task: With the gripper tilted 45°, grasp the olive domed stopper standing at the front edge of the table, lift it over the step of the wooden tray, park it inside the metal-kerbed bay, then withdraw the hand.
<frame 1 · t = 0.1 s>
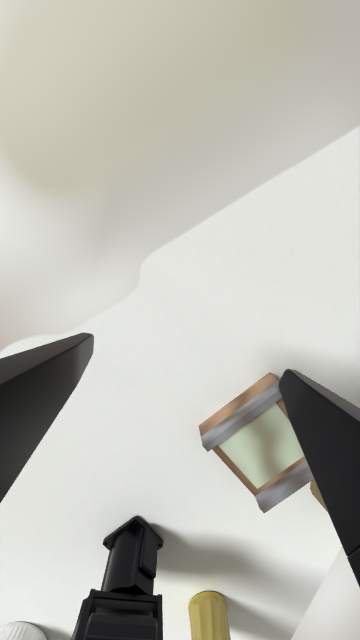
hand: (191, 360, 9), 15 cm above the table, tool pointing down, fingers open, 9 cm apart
wooden tray: (261, 432, 27), on the table
ramekin: (20, 638, 32), on the table
vase: (206, 602, 32), on the table
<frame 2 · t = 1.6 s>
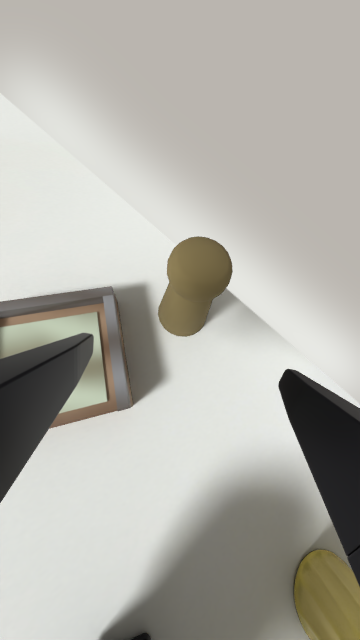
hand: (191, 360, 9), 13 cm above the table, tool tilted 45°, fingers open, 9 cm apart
wooden tray: (61, 361, 21), on the table
olive domed stopper: (182, 313, 25), on the table
vase: (323, 592, 17), on the table
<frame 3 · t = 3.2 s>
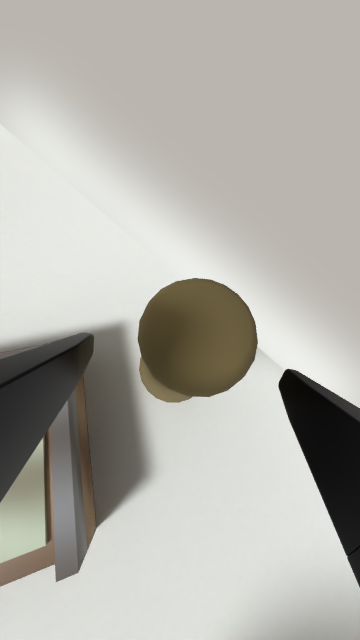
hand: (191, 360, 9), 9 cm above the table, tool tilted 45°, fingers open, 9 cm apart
olive domed stopper: (173, 366, 18), on the table
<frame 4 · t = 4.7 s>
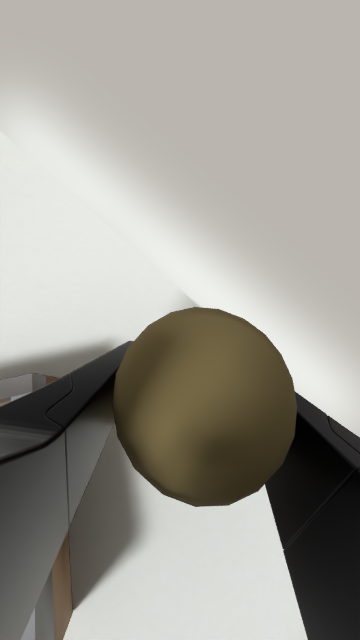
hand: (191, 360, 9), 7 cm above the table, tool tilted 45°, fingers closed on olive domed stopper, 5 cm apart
olive domed stopper: (171, 393, 15), on the table, touching gripper
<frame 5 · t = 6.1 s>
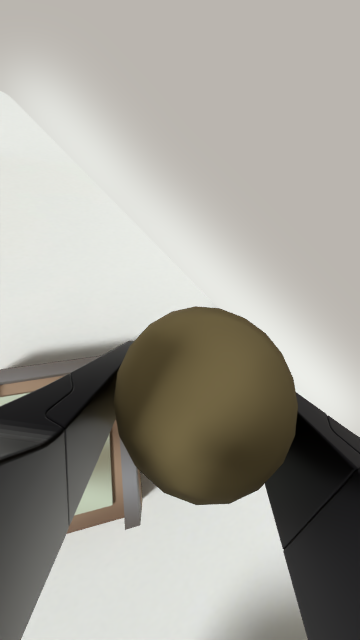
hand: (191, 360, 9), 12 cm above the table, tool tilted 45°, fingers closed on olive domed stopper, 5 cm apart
wooden tray: (61, 436, 17), on the table
olive domed stopper: (172, 392, 15), point 5 cm above the table, touching gripper
when the fingers open (10 cm above the table, at t = 7.8 s): olive domed stopper stays where it is, resting on wooden tray.
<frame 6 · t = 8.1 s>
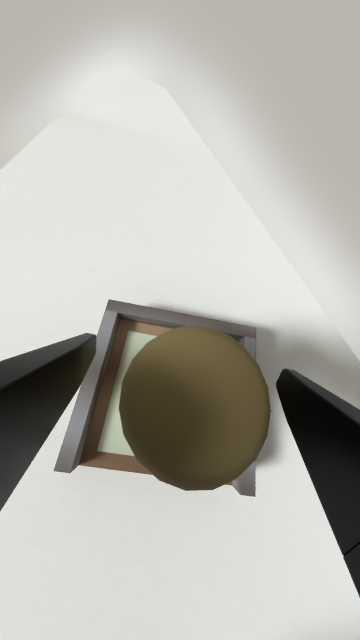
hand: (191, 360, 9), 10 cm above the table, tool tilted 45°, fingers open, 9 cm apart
wooden tray: (169, 387, 18), on the table
olive domed stopper: (170, 395, 16), point 2 cm above the table, touching wooden tray
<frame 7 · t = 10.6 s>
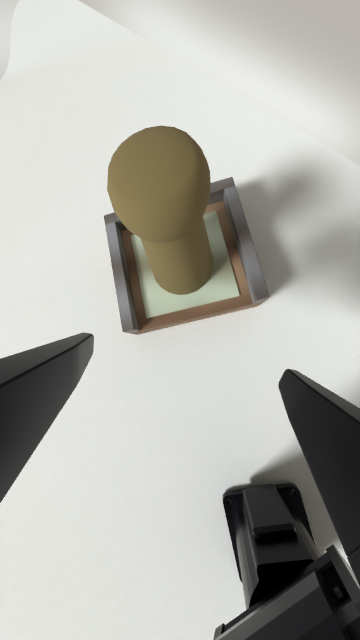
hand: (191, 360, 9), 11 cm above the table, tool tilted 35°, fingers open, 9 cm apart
wooden tray: (183, 267, 22), on the table
olive domed stopper: (182, 265, 19), point 2 cm above the table, touching wooden tray
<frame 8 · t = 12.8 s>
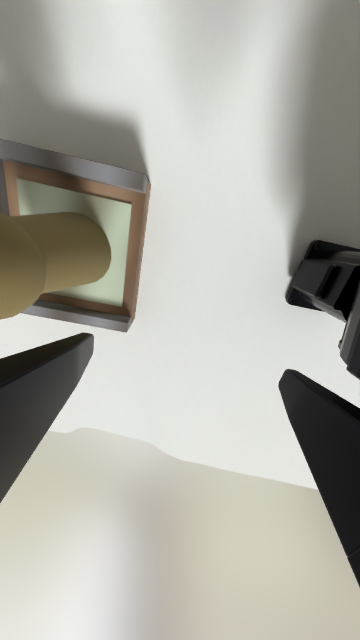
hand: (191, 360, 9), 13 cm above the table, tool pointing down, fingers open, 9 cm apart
wooden tray: (81, 247, 19), on the table
olive domed stopper: (78, 250, 18), point 2 cm above the table, touching wooden tray
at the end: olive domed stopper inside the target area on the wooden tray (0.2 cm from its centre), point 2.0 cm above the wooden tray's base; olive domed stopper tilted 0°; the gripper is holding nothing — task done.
